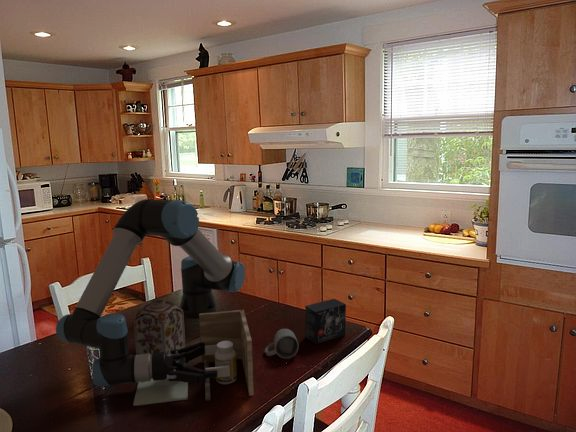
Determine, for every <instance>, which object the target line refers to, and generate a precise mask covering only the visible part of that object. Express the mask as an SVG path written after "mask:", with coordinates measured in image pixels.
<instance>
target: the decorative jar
mask: <svg viewBox="0 0 576 432" xmlns="http://www.w3.org/2000/svg"><path fill="white" fill-rule="evenodd" d="M179 306H180V305H177V304H176V303H175V302H174V301H168V300H165V299H164V298H154V299H152V300H150V302H148V303H146V304H144V305H142V306H141V307H139V309H138V311H137V312H136V314H135V316H134V318H133V328H134V342H135V343H134V344H135V352H136V353H135V355H138V354H147V353H150V354H151V355H153V354H154V353H159V352H166V354H167V356H171V351H172V350H177V349H181V348H184V347H186V333H185V319H184V318H185V317H184V315H183V310H182V309H181V308H180V307H179Z"/></svg>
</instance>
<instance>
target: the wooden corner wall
mask: <svg viewBox="0 0 576 432" xmlns="http://www.w3.org/2000/svg"><path fill="white" fill-rule="evenodd" d="M247 321H248V320H247V318H246V313H245V309H237V310H225V311H224V310H222V311H216V312H211V313H200V314H199V332H200V333H199V335H200V339H199V340H200V343H205V346H209V345H217V344H218V343H219V342H222V341H230V342H232V343H233V350H234V351H235V352H236V360H241V361H242V365H243V371H244V372H243V373H244V375H245V381H246V382H245V383H246V386H247V391H248V396H249V397H250V396H254V395H255V393H254V372H253V371H254V369H253V368H254V366H253V364H254V363H253V340H252V336H251V333H250V330H249V325H248V322H247ZM200 358H201V364H204V366H203V367H204V369H203V370H205V368H210V363H215V354H214V355H205V354H203V355H201V356H200ZM205 372H206V371H205ZM204 395H205V397H204V400H205V401H206V402H209V401H211V398H212V397H211V378H207V379H206V382H205V383H204Z"/></svg>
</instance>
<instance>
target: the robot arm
mask: <svg viewBox="0 0 576 432" xmlns="http://www.w3.org/2000/svg"><path fill="white" fill-rule="evenodd" d="M198 215H199V213H198V211H197V208H196V207H195V206H194V205H193V204H192V203H191V202H188V201H184V200H181V199H174V200H173V199H153V198H146V199H145V198H144V199H142V200H139V201H137V202H135V203H134V204H132V205H131V206H129V208H128V209H126V210H125V211H124V213H123V214H122V215H120V217H119V218H118V220H117V222H116V224H115V226H114V227H113V229H112V234H113V236H112V238H111V240H110V242H109V244H108V245H107V247H106V250H105V251H104V253H103V255H102V257H101V259H100V261H99V262H98V264H97V266H96V268H95V270H94V272H93V274H92V276H91V277H90V280H89V281H88V283H87V285H86V287H85V289H84V291H83V292H82V294H81V296H80V298H79V300H78V302H77V303H76V306H75V308H74V309H73V311H72V313H68V314H65V315H63V316H62V317H61V318H60V319H59V320H58V321H57V324H56V326H55V327H56V328H55V333H56V336H57V338H59V339H60V340H61V341H64V342H68V343H70V344H77V345H81V346H86V347H89V348H94V349H96V350H97V349H98V352H99V353H98V355H99V358H96V359H94V361H93V364H92V366H91V367H92V368H91V373H92V374H91V379H92V383H93V385H94V386H95V387H113V386H118V385H126V384H136V383H137V384H138V382H141V383H144V382H147V381H151V379H153V380H154V381H158V380H165V379H166V378H167V375H168V378H169V381H181V382H187V383H188V384H196V385H203V384H205V382H206V379H207V378H210V379H213V378H214V379H216V377H225V376H230V367H229V366H220V367H215V366H214V367H212V366H211V367H209V368H205V369H203V368H202V369H201V368H198V367H195V366H192V365H188V363H189V362H191V361H192V360H194V359H197V358H198V357H201V355H203V354H205V355H214V354H215V352H216V351H217V345H209V346H205V343H201V342H198V343H195V344H191V345H188V346H185V347H184V348H181V349H177V350H172V351H171V356H167V354H166V352H159V353H154V354H153V355H151V354H150V353H147V354H138V355H136V354H130V351H129V350H130V349H129V337H128V336H129V335H128V330H129V329H128V327H127V321H126V317H125V316H124V315H123V314H122V313H121V314H120V313H107V314H103V312H104V310H105V309H106V306H107V304H108V302H109V301H110V299H111V297H112V294H113V293H114V291H115V289H116V287H117V285H118V283H119V281H120V278H122V275H123V273H124V272H125V271H124V270H125V269H126V267H127V265H128V264H129V261H130V259H131V257H132V255H133V253H134V251H135V249H136V248H137V246H138V245H141V244H142V243H143V240H145V238H146V237H147V236H155V237H162V238H163V239H164V240H166V242H168V243H169V244H170V245H171V246H173V247H180V248H181V249H182V251H184V253H186V254H187V256H186V257H184V258H183V259H181V262H180V263H181V265H180V271H181V274H180V275H181V285H182V286H181V287H182V296H181V300H180V303H179V305H178V306H179V307H180V308H181V309H182V310H183V315H184V318H192V319H193V318H194V319H195V318H196V319H197V318H199V314H200V313H211V312H218V303H217V300H216V299H215V296H214V293H213V290H214V291H217V290H218V291H221V292H222V291H224V292H229V293H232V292H233V293H237V292H239V291H240V290H241V289H242V287H243V286H244V283H245V278H246V267H245V264H244V263H243V262H241V261H234V260H233V259H232V258H231V257H230V256H229V255H227V254H225V253H221V252H220V250H219V249H217V248H216V246H215V245H213V243H212V242H211V241H210V240H209V238H207V237H206V235H204V233H203V232H202V231H201V230H200V229H199V225H200V217H198ZM205 371H206V372H205Z"/></svg>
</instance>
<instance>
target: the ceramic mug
mask: <svg viewBox="0 0 576 432" xmlns="http://www.w3.org/2000/svg"><path fill="white" fill-rule="evenodd" d="M299 346H300V345H299V341H298V339H297V337H296V335H295V333H294V331H292V330H290V329H289V328H281V329H279V330H278V331H277V332H276V333H275V334H274V337H273V342H272V343H269V344H268V345H267V346H266V347H265V349H264V353H265V354H266V356H268V357H272V356H275V355H277V356H278V357H279V358H281V359H285V360H287V359H292V358H293V357H295V356H296V355H297V353H298V351H299V348H300V347H299ZM273 348H274V349H273Z"/></svg>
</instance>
